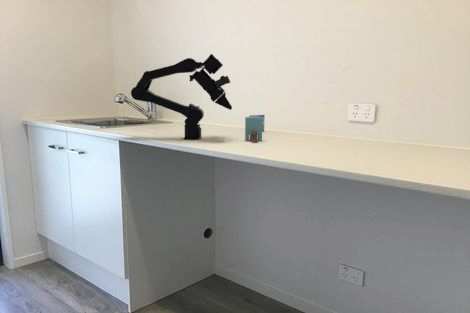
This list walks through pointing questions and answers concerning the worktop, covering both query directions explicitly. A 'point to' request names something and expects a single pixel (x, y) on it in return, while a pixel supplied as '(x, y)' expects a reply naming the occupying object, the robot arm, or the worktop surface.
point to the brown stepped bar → (254, 136)
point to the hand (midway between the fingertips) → (231, 108)
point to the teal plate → (253, 127)
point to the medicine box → (262, 119)
